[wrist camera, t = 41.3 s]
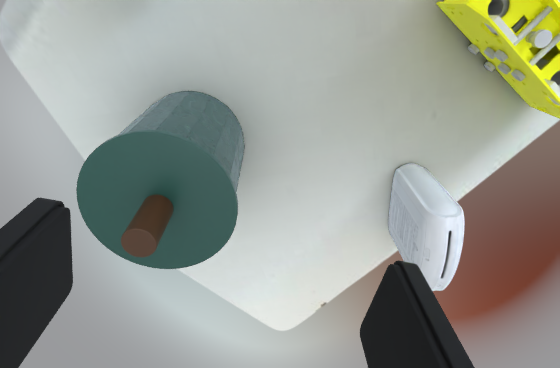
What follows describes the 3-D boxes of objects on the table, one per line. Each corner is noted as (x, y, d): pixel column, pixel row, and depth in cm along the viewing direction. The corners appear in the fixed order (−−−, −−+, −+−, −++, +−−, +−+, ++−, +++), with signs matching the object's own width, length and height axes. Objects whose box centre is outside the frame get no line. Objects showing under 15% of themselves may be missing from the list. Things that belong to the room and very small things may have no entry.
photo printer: (416, 232, 48) (460, 300, 37) (384, 233, 48) (418, 302, 37) (427, 161, 44) (480, 215, 32) (392, 163, 44) (433, 218, 32)
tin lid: (222, 116, 27) (210, 145, 21) (250, 252, 33) (245, 301, 27) (58, 138, 27) (6, 171, 22) (113, 267, 33) (83, 319, 28)
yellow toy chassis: (428, 7, 36) (469, 9, 28) (475, -45, 34) (532, -57, 27) (521, 107, 41) (576, 131, 33) (566, 66, 39) (636, 82, 31)
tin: (234, 84, 39) (216, 124, 26) (251, 179, 44) (243, 250, 32) (129, 98, 39) (63, 143, 27) (158, 191, 45) (114, 265, 32)
